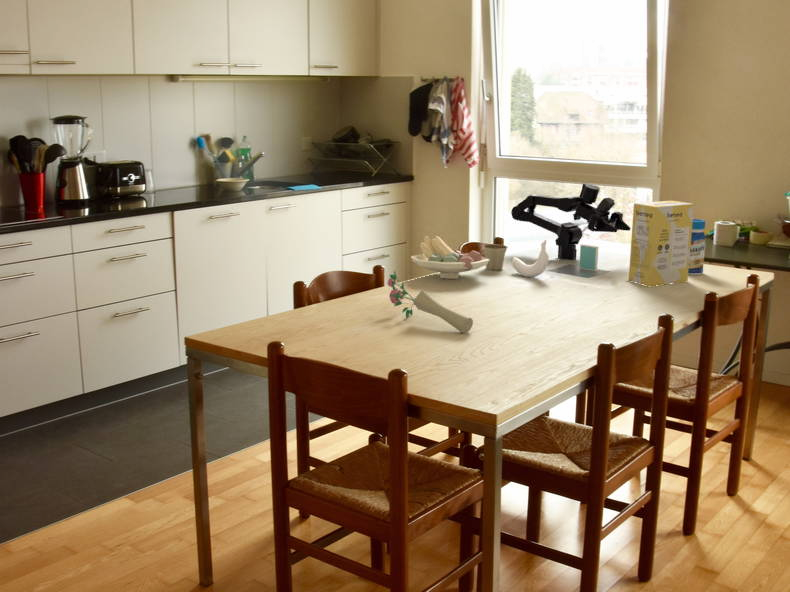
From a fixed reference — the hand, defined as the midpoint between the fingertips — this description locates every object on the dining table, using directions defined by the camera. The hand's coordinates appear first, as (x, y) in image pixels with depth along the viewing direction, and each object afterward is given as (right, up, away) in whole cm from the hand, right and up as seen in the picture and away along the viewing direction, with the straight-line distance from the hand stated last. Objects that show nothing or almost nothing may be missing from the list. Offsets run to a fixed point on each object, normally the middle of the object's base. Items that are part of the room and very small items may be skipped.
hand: (623, 230), depth 331 cm
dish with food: (-66, -18, -11) cm, 70 cm away
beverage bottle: (+25, -16, -2) cm, 30 cm away
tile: (-13, -15, 0) cm, 20 cm away
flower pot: (-48, -15, +4) cm, 51 cm away
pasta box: (+8, -20, -16) cm, 27 cm away
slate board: (-18, -16, -3) cm, 24 cm away
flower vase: (-77, -33, -71) cm, 110 cm away
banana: (-37, -18, -9) cm, 42 cm away
